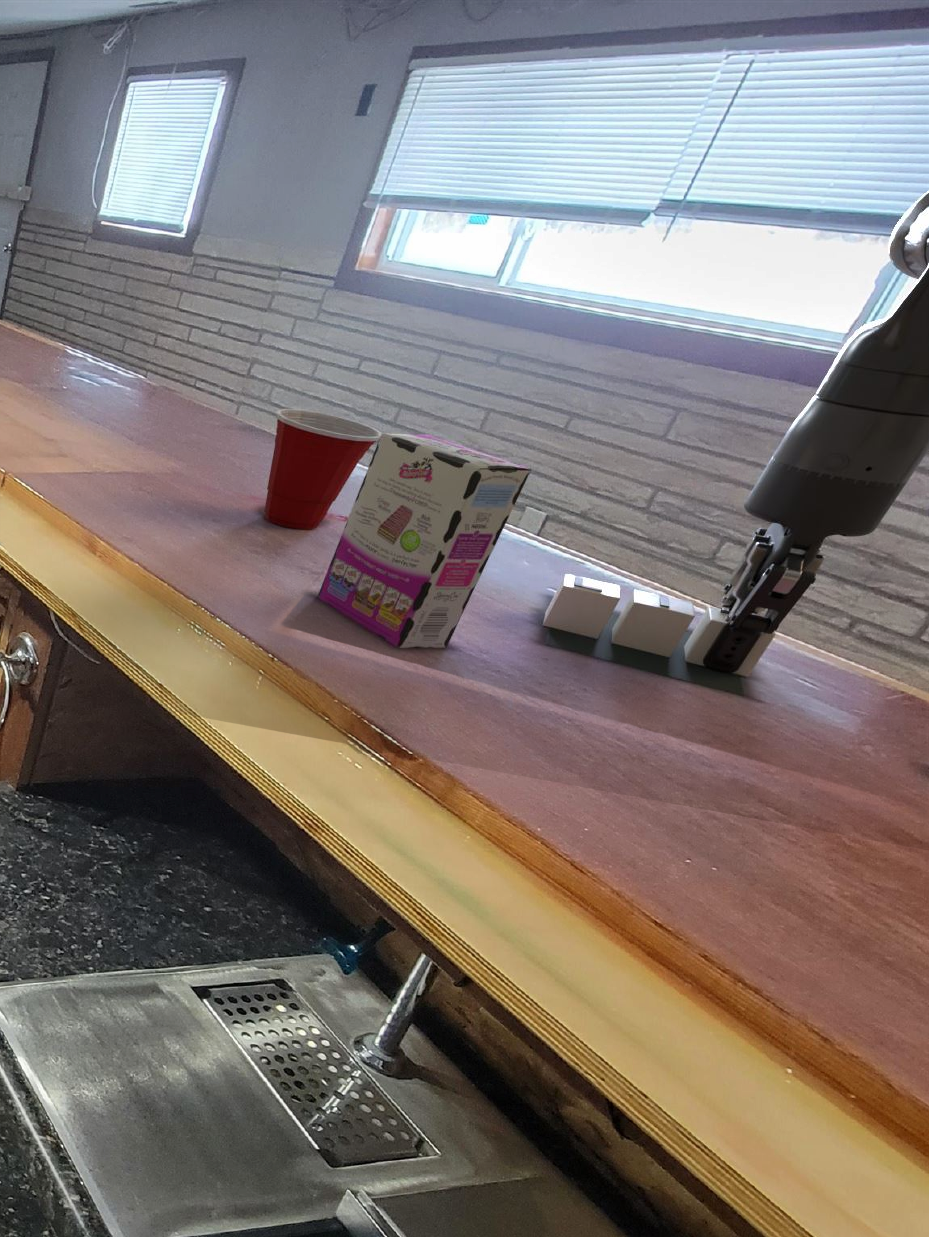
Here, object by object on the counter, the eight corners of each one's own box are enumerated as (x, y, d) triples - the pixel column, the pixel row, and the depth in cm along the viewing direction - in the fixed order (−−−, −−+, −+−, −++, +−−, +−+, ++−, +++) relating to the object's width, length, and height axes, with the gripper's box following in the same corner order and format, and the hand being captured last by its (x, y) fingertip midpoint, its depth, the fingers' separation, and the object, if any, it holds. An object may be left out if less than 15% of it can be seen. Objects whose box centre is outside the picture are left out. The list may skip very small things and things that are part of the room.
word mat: (730, 647, 89) (734, 641, 88) (740, 702, 79) (744, 696, 79) (552, 604, 96) (555, 599, 95) (542, 650, 86) (545, 644, 86)
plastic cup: (355, 543, 109) (398, 436, 103) (249, 529, 112) (285, 424, 106) (333, 514, 118) (372, 414, 112) (236, 501, 121) (268, 403, 115)
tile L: (599, 625, 90) (621, 584, 88) (597, 639, 87) (621, 597, 85) (545, 612, 92) (566, 572, 90) (542, 625, 90) (564, 584, 88)
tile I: (668, 643, 87) (694, 601, 85) (669, 657, 85) (695, 614, 83) (612, 629, 90) (635, 588, 88) (611, 642, 87) (635, 600, 85)
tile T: (744, 661, 85) (772, 618, 83) (747, 677, 82) (776, 633, 80) (683, 646, 87) (709, 604, 85) (685, 661, 84) (711, 618, 82)
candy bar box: (448, 653, 85) (537, 468, 77) (396, 653, 85) (480, 468, 76) (359, 600, 95) (430, 431, 87) (312, 600, 94) (378, 430, 86)
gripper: (928, 495, 69) (783, 704, 77) (894, 457, 78) (768, 647, 87) (783, 471, 73) (660, 672, 82) (766, 438, 83) (658, 621, 91)
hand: (716, 658), depth 84 cm, fingers closed on tile T, 4 cm apart
